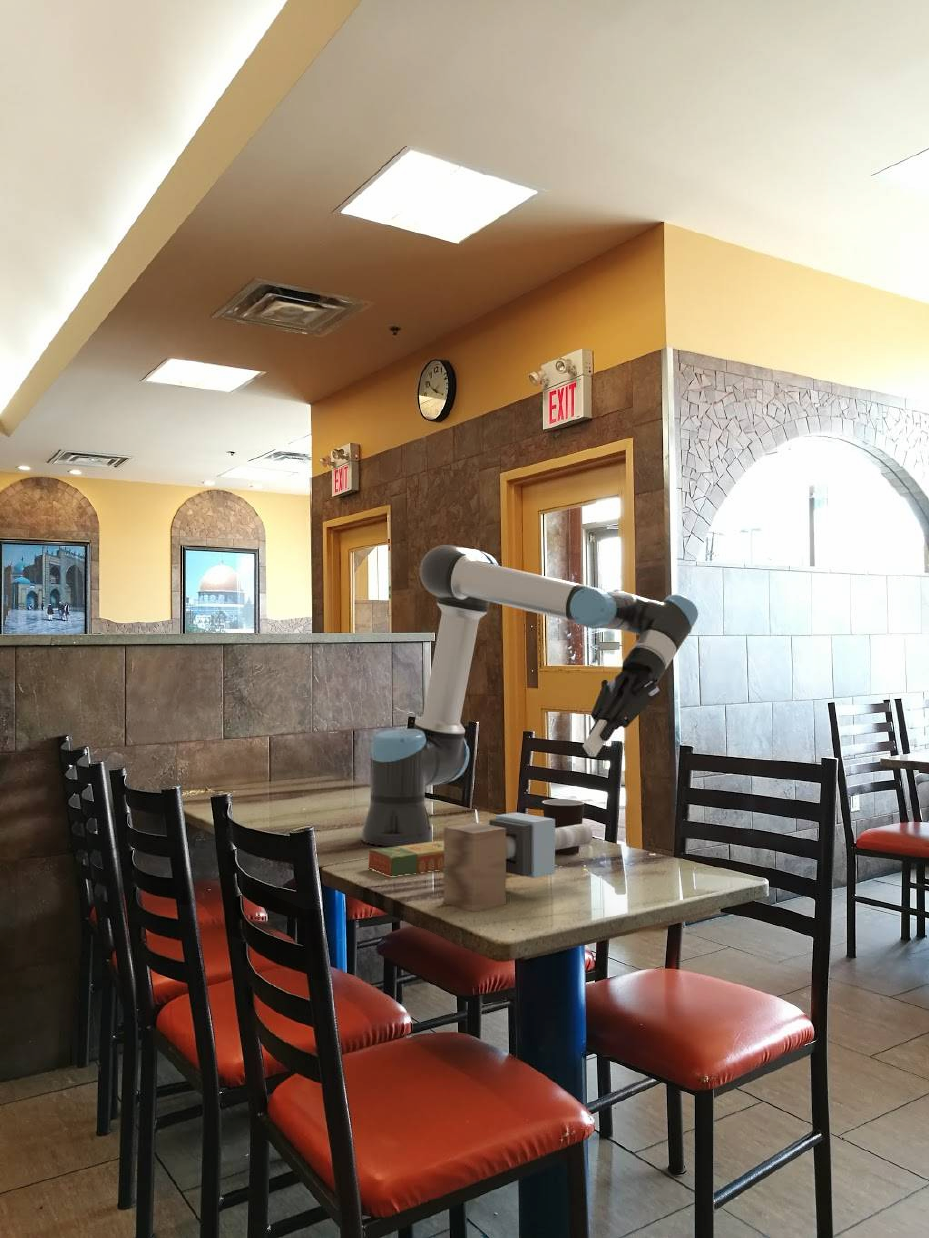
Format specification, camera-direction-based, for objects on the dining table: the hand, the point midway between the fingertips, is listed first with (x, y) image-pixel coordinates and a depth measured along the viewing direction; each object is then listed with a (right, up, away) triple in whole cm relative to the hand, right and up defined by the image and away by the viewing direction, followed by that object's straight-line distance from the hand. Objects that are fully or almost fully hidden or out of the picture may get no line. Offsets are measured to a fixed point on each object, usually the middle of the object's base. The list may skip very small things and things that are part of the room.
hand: (588, 751), depth 170 cm
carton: (-31, -23, +6) cm, 39 cm away
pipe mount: (-12, -22, -12) cm, 28 cm away
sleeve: (-12, -19, -11) cm, 25 cm away
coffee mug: (-2, -24, +24) cm, 34 cm away
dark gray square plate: (-15, -18, -14) cm, 27 cm away
